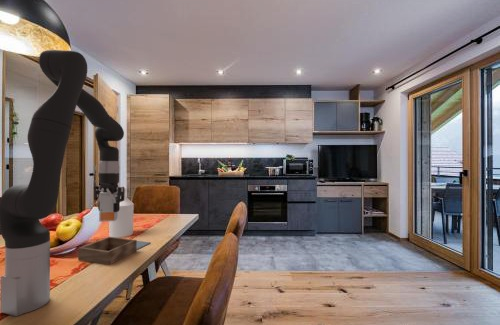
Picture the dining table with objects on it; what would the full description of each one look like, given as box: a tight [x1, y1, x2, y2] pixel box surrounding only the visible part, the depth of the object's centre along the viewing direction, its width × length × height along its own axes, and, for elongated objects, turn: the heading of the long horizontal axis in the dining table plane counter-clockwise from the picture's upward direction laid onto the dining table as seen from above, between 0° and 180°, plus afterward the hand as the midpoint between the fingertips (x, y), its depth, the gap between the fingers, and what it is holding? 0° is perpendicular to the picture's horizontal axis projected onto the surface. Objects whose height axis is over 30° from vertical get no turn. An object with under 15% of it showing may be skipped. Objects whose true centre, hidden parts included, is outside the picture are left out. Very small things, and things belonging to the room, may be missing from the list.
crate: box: [77, 236, 138, 266], centre depth 104 cm, size 15×15×5 cm
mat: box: [137, 240, 151, 250], centre depth 116 cm, size 9×9×1 cm
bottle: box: [108, 187, 135, 238], centre depth 133 cm, size 12×12×25 cm
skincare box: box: [98, 192, 118, 222], centre depth 103 cm, size 6×4×12 cm
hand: (108, 211), depth 103 cm, fingers closed on skincare box, 7 cm apart
